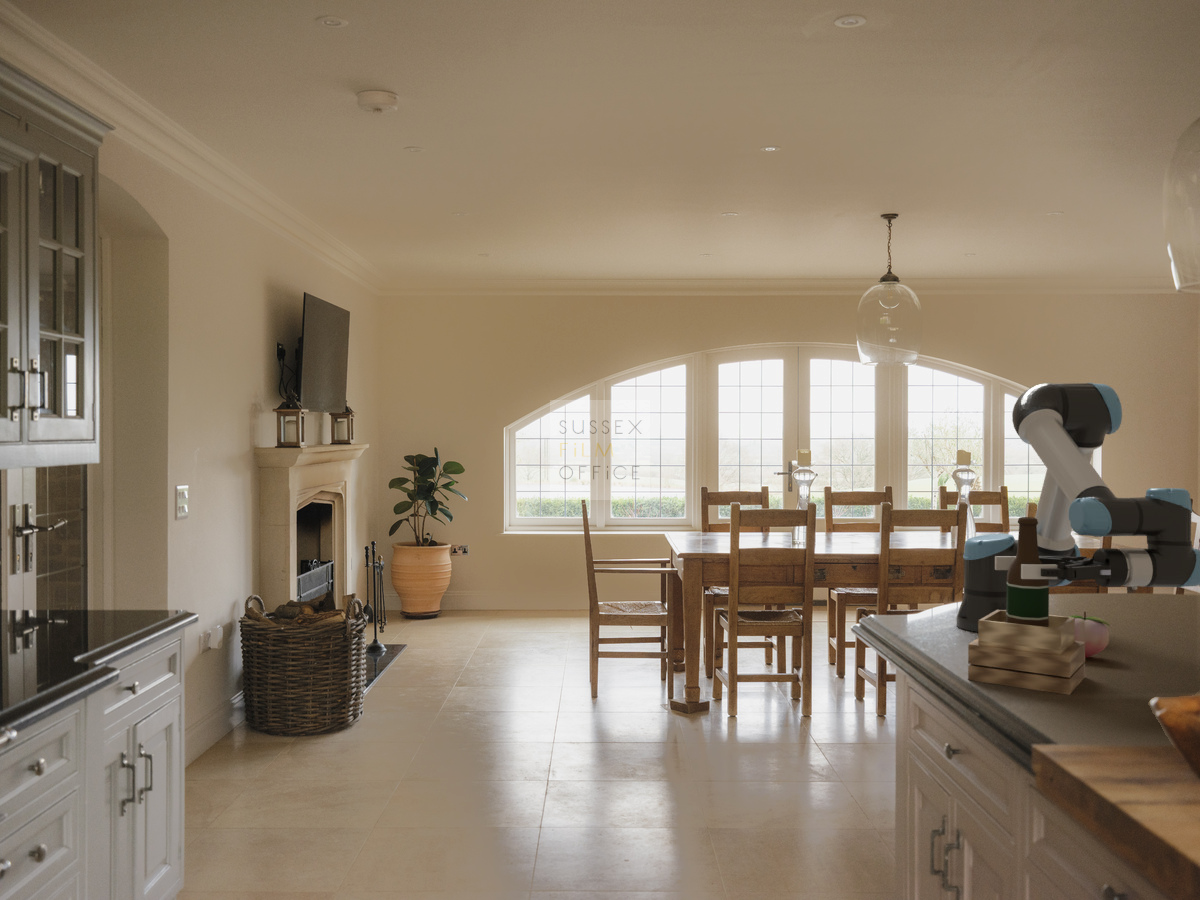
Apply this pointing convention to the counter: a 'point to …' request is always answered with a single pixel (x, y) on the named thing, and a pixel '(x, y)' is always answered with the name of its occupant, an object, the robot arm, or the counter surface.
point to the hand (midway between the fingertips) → (1008, 567)
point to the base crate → (1028, 667)
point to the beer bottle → (1027, 581)
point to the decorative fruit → (1091, 633)
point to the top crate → (1027, 634)
